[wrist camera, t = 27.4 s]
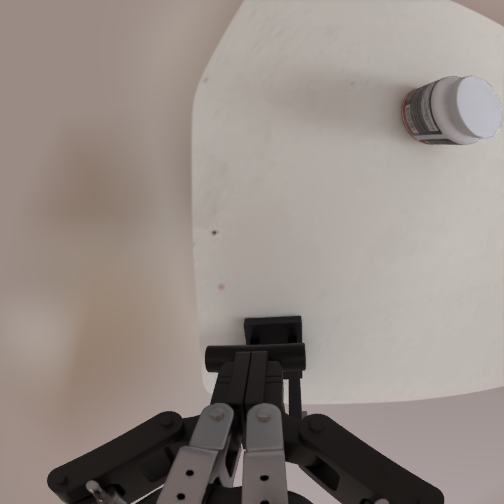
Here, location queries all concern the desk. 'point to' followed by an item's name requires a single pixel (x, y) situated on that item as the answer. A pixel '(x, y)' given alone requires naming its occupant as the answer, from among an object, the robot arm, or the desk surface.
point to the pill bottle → (453, 111)
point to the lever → (286, 354)
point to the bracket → (279, 333)
